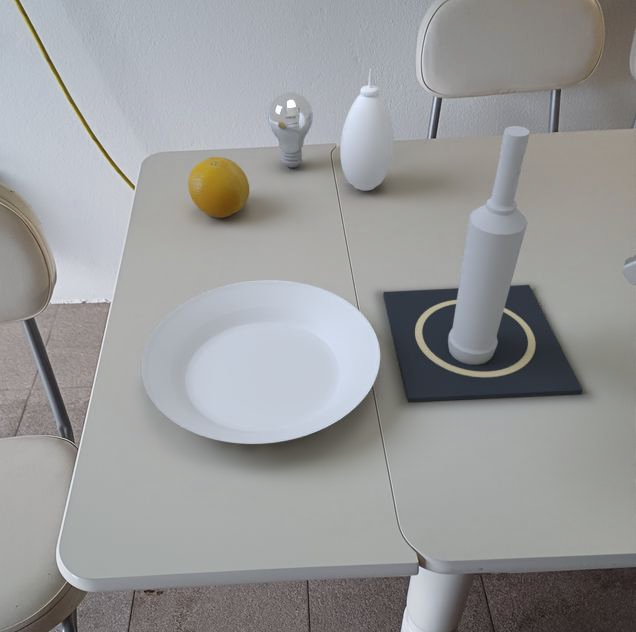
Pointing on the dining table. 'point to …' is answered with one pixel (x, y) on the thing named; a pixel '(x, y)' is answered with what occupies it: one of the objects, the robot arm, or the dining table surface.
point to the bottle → (490, 258)
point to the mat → (483, 379)
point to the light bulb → (290, 125)
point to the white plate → (260, 361)
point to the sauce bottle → (367, 140)
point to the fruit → (218, 187)
